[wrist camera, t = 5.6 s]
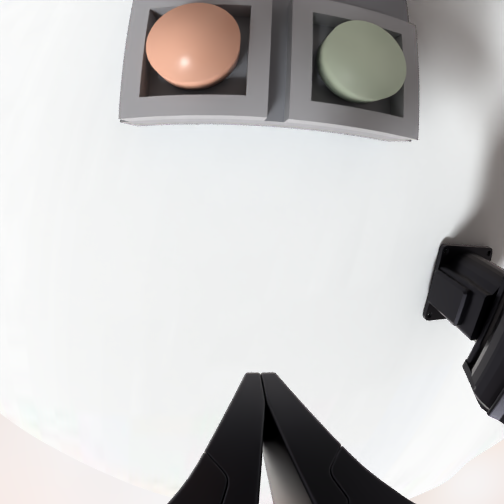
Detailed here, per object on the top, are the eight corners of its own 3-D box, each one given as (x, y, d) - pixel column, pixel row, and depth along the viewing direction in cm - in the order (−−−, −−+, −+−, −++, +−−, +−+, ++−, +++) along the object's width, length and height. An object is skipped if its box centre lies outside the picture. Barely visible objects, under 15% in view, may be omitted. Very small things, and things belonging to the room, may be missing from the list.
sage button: (389, 42, 12) (404, 32, 11) (389, 110, 14) (406, 107, 12) (316, 25, 12) (325, 12, 10) (315, 97, 13) (325, 90, 12)
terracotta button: (242, 17, 12) (243, 2, 10) (237, 90, 13) (237, 82, 11) (160, 19, 12) (151, 6, 10) (152, 91, 13) (141, 84, 11)
